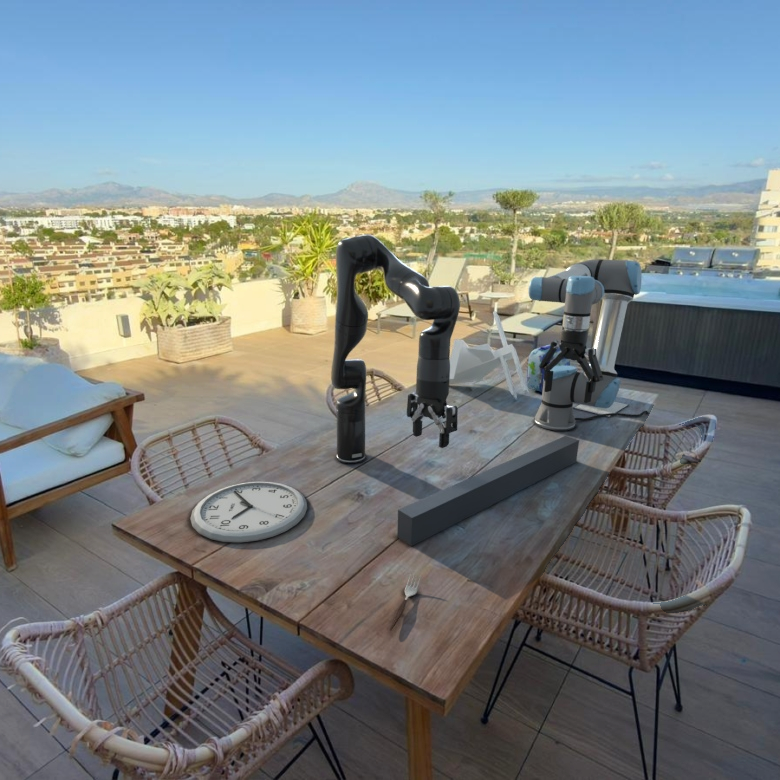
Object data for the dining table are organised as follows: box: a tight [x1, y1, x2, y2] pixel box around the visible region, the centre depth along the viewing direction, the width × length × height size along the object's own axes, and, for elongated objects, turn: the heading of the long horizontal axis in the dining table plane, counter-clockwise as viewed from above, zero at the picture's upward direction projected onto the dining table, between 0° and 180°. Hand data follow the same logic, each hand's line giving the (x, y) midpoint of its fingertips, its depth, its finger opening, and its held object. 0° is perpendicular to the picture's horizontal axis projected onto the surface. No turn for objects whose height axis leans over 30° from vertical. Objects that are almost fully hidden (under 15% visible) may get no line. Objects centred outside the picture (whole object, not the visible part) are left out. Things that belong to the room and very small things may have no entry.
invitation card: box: [573, 401, 629, 418], centre depth 226 cm, size 21×1×15 cm
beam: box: [396, 435, 580, 547], centre depth 149 cm, size 75×5×8 cm, turn 131°
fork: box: [389, 573, 422, 632], centre depth 105 cm, size 3×16×2 cm, turn 160°
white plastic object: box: [449, 310, 531, 400], centre depth 245 cm, size 37×45×31 cm
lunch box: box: [526, 343, 571, 394], centre depth 248 cm, size 26×11×21 cm, turn 135°
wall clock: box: [190, 481, 308, 544], centre depth 139 cm, size 30×2×30 cm
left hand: (430, 441), depth 124 cm, fingers open, 8 cm apart
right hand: (567, 396), depth 163 cm, fingers open, 13 cm apart
